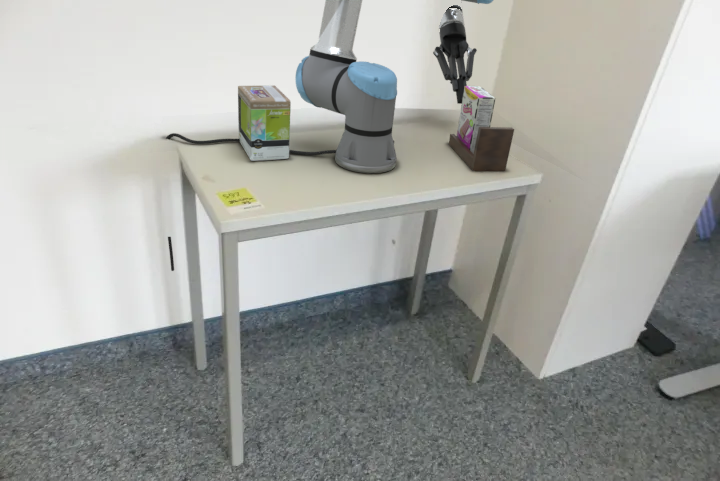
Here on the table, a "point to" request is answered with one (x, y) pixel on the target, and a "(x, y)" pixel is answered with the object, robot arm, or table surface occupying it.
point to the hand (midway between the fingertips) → (461, 101)
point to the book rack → (486, 149)
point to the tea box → (264, 122)
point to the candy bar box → (474, 114)
